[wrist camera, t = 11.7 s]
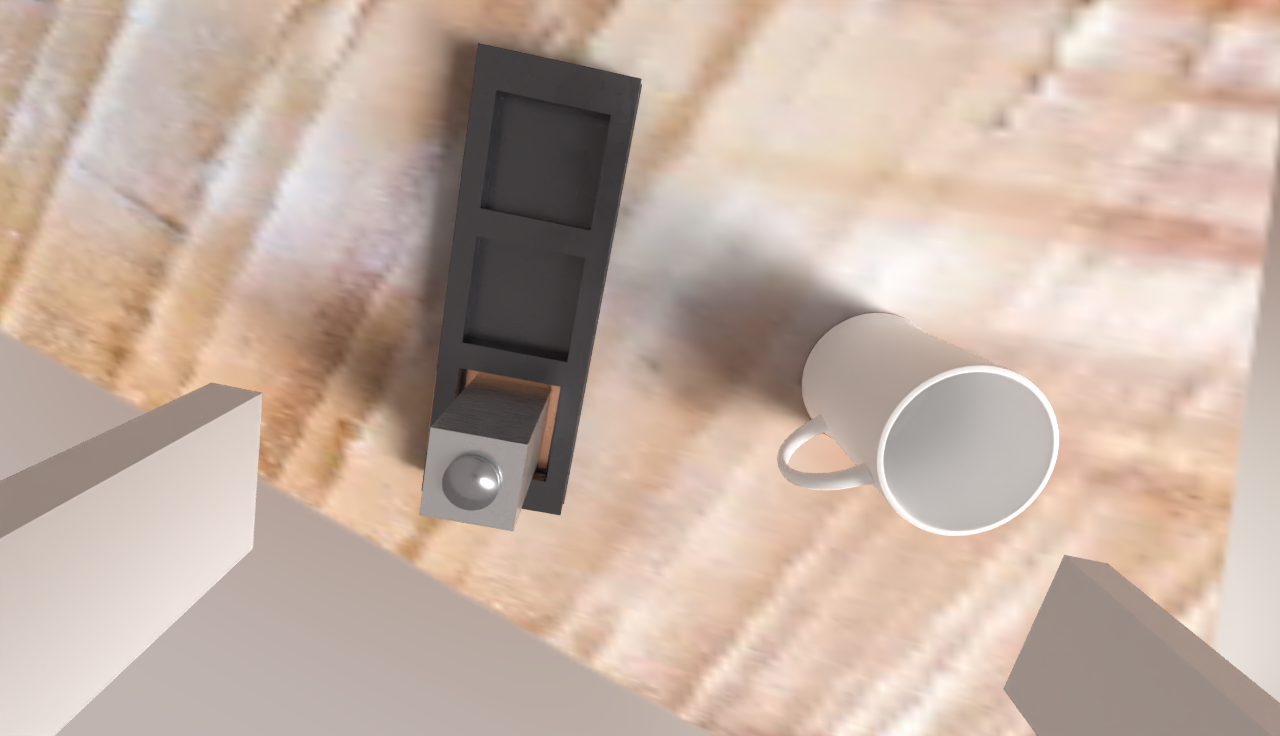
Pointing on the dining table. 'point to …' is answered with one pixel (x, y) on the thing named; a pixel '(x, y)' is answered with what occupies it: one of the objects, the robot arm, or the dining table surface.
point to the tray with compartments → (535, 239)
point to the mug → (925, 425)
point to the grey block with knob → (484, 453)
